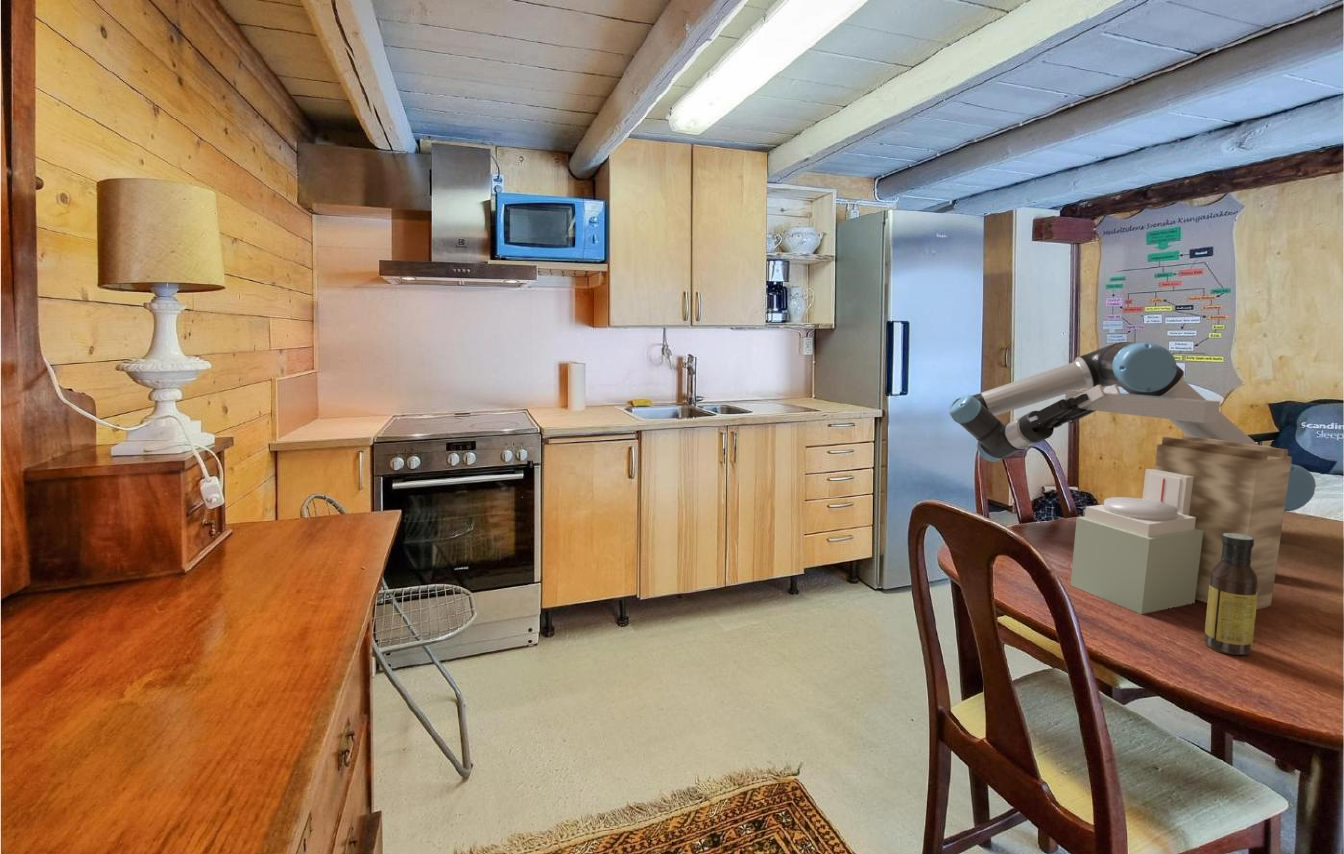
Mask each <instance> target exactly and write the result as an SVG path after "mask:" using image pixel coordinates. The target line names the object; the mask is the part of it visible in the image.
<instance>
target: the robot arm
mask: <svg viewBox="0 0 1344 854" xmlns="http://www.w3.org/2000/svg"><path fill="white" fill-rule="evenodd" d="M1184 378H1185V370H1183V369H1182V368H1181V367H1180V366H1179V365H1178V364H1177V361H1176V359H1175V357H1174V355H1173V354H1172V353H1171V352H1170V351H1169V349H1167V348H1165V347H1163V346H1162V345H1158V344H1157V343H1152V342H1147V341H1145V342H1144V341H1141V342H1140V341H1139V342H1136V341H1135V342H1130V341H1125V342H1124V341H1120V342H1116V343H1111V344H1109V345H1107V346H1104V347H1102V348H1099V349H1097V350H1094V351H1091V352H1088V353H1085V354H1083V355H1080V356H1076V357H1075V360H1074V361H1073V362H1070V363H1067V364H1065V365H1061V366H1058V367H1054V368H1053V369H1049V370H1046V371H1043V372H1040V373H1037V374H1034V375H1031V376H1028V377H1025V378H1023V379H1018V380H1015V381H1013V382H1010V383H1007V384H1003V385H1000V386H997V387H995V388H992V389H988V390H984V391H982V392H979V393H976V394H965V395H963V396H961V397H957V398H956V399H954V400H953V401H952V403H950V407H949V410H948V411H949V415H950V416H951V418H952V420H953V421H954V422H955V423H957V424H959V425H960V426H961V427H962V428H964V429H965V430H966V431H967V432H968V433H969V434H970V435H971V436H973V438H974V439H976V441H977V445H976V448H977V451H978V452H979V453H980V454H979V455H980V456H981V458H983V459H984V460H986V461H988V462H998V461H1001V460H1004V459H1007V458H1009V457H1011V456H1012V455H1015V454H1016V453H1018V452H1021V451H1023V450H1027V451H1028V450H1029V449H1030V447H1031V446H1033V445H1036V444H1037V443H1040V442H1043V441H1045V440H1047V439H1049V438H1050V437H1052V435H1053V434H1054V429H1057V428H1058V427H1062V426H1063V425H1064V424H1066V423H1068V424H1074V423H1075V422H1077V421H1078V420H1080V419H1083V418H1085V417H1086V416H1089V415H1091V414H1092V413H1095V412H1096V411H1094V410H1086V409H1077V405H1078V407H1079V408H1082V407H1084V406H1086V405H1088V404H1090V403H1092V402H1094V401H1096V400H1098V399H1100V398H1102V397H1104V396H1106V395H1105V393H1104V392H1113V393H1121V390H1120V388H1122V389H1123V390H1125V392H1127V394H1137V395H1149V396H1161V397H1173V398H1185V399H1197V400H1207V399H1206V398H1205V397H1204V396H1203V395H1201V394H1200V393H1199V392H1198V391H1197V390H1195V389H1194V388H1193V387H1192V386H1191V385H1190V384H1189V383H1187V381H1185V380H1184ZM1103 387H1106V388H1103ZM1119 387H1120V388H1119ZM1066 390H1087V391H1085V392H1083V393H1081V394H1079V395H1077V396H1075V397H1074V399H1073V398H1069V399H1067V400H1066V401H1065V399H1064V398H1062V399H1060V400H1058V401H1055V402H1053V403H1052V404H1049V405H1048V406H1045V407H1044V408H1042V409H1040V410H1033V411H1030V412H1027V413H1026V414H1024V415H1022V416H1020V417H1018V418H1016V419H1014V420H1013V421H1010V422H1009V423H1007V424H1004V423H1003V422H1002V421H1001V420H1000V419H999V418H997V417H996V416H999V415H1001V414H1005V413H1009V412H1012V411H1014V410H1015V411H1016V410H1018V409H1021V408H1024V407H1027V406H1028V407H1029V406H1031V405H1035V404H1037V403H1040V402H1044V401H1047V400H1051V399H1054V398H1057V397H1060V396H1062V395H1066ZM1168 420H1169V422H1171V423H1172V424H1174V425H1175V427H1177V428H1178V429H1179V430H1181V431H1182V432H1183V433H1184V434H1185V435H1188V436H1195V437H1202V438H1209V439H1216V440H1223V441H1230V442H1237V443H1244V444H1251V445H1258V446H1265V447H1272V446H1271V445H1262V444H1261V445H1259V444H1258V443H1257V442H1255V440H1253V439H1252V438H1251V437H1250V436H1249V435H1247V434H1246V433H1245V432H1244V431H1243V430H1242V429H1241V428H1240V427H1238V426H1237V425H1236V424H1235V423H1234V422H1233V421H1231V420H1230V419H1229V418H1228V417H1226V416H1225V414H1224V413H1222V412H1221V411H1220V410H1219V414H1218V422H1211V423H1199V422H1190V421H1182V420H1173V419H1168ZM1316 486H1317V484H1316V480H1315V477H1314V475H1313V474H1312V473H1311V472H1310V471H1309V470H1307V469H1306V468H1304V467H1302V466H1301V465H1298V464H1293V463H1292V462H1291V467H1290V474H1289V481H1288V488H1287V495H1286V502H1285V509H1284V513H1285V512H1293V511H1297V510H1299V509H1301V508H1302V507H1304V506H1305V505H1307V504H1308V503H1309V502H1310V500H1311V501H1312V498H1313V497H1314V494H1315V492H1316V491H1315V490H1316Z"/></svg>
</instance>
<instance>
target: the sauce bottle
mask: <svg viewBox="0 0 1344 854" xmlns="http://www.w3.org/2000/svg"><path fill="white" fill-rule="evenodd" d="M1222 543H1223V548H1222V555H1221V561H1220V562H1219V563H1218V564H1217V565H1216V566H1215V567H1214V568H1213V569H1212V571H1211V579H1210V584H1209V592H1208V603H1206V604H1207V606H1206V615H1205V616H1206V617H1205V625H1204V626H1205V627H1204V633H1205V636H1204V643H1205V645H1207V646H1208V647H1209V648H1210V649H1212V650H1214V651H1217V652H1219V653H1223V654H1228V655H1237V656H1239V655H1240V656H1241V655H1247V654H1250V653H1251V649H1252V644H1253V641H1254V632H1255V626H1256V625H1255V624H1256V615H1257V610H1256V606H1257V595H1258V579H1257V576H1256V574H1255V572H1254V571H1253V569H1252V568H1251V566H1250V565H1251V551H1252V548H1253V546H1254V539H1253V538H1252V537H1250V536H1247V535H1243V534H1236V533H1224V534H1223V535H1222Z"/></svg>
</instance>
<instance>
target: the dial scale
mask: <svg viewBox="0 0 1344 854" xmlns="http://www.w3.org/2000/svg"><path fill="white" fill-rule="evenodd" d="M1192 485H1193V477H1192V476H1187V475H1182V474H1177V473H1172V472H1167V471H1162V470H1156V469H1155V468H1147V469H1145V471H1144V481H1143V491H1142V492H1143V493H1142V498H1139V497H1128V496H1125V497H1123V496H1117V497H1116V496H1115V497H1113V496H1112V497H1108V498H1105V499H1104V501H1103V504H1096V505H1089V506H1085V512H1084V517H1085V519H1088V520H1092V521H1095V522H1099V523H1102V524H1105V525H1109V526H1112V527H1116V528H1119V529H1122V530H1126V531H1129V532H1133V533H1136V534H1139V535H1143V536H1146V537H1151V536H1158V535H1164V534H1170V533H1177V532H1183V531H1190V530H1194V529H1195V521H1196V517H1192V516H1189V510H1190V502H1191V493H1192Z"/></svg>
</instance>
